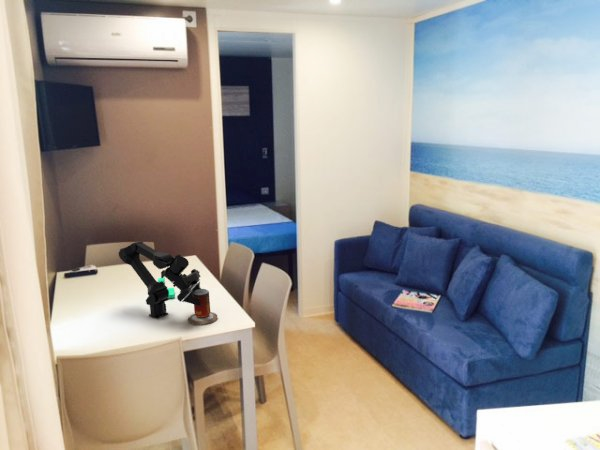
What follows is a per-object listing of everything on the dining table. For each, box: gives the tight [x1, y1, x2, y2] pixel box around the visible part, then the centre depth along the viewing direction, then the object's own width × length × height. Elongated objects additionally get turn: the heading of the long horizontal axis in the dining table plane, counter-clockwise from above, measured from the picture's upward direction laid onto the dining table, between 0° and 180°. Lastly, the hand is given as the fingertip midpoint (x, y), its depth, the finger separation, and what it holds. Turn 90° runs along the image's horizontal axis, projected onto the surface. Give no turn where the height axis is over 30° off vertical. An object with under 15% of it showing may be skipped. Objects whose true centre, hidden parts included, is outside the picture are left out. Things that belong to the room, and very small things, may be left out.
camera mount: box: [157, 277, 176, 299], centre depth 260 cm, size 12×8×10 cm, turn 15°
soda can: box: [193, 288, 211, 319], centre depth 226 cm, size 7×7×12 cm
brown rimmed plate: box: [187, 311, 218, 326], centre depth 227 cm, size 13×13×1 cm
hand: (202, 301), depth 226 cm, fingers open, 9 cm apart
